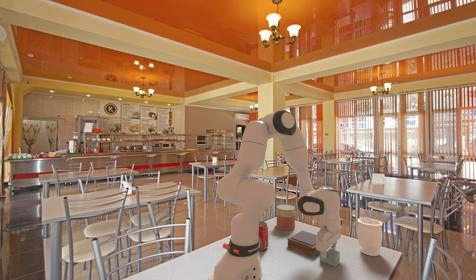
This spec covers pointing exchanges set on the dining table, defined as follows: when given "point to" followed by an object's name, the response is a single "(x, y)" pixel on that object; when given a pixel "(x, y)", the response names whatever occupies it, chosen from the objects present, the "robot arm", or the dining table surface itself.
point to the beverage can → (263, 235)
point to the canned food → (285, 217)
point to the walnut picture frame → (304, 242)
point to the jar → (369, 236)
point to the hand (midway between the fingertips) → (329, 253)
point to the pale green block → (331, 257)
